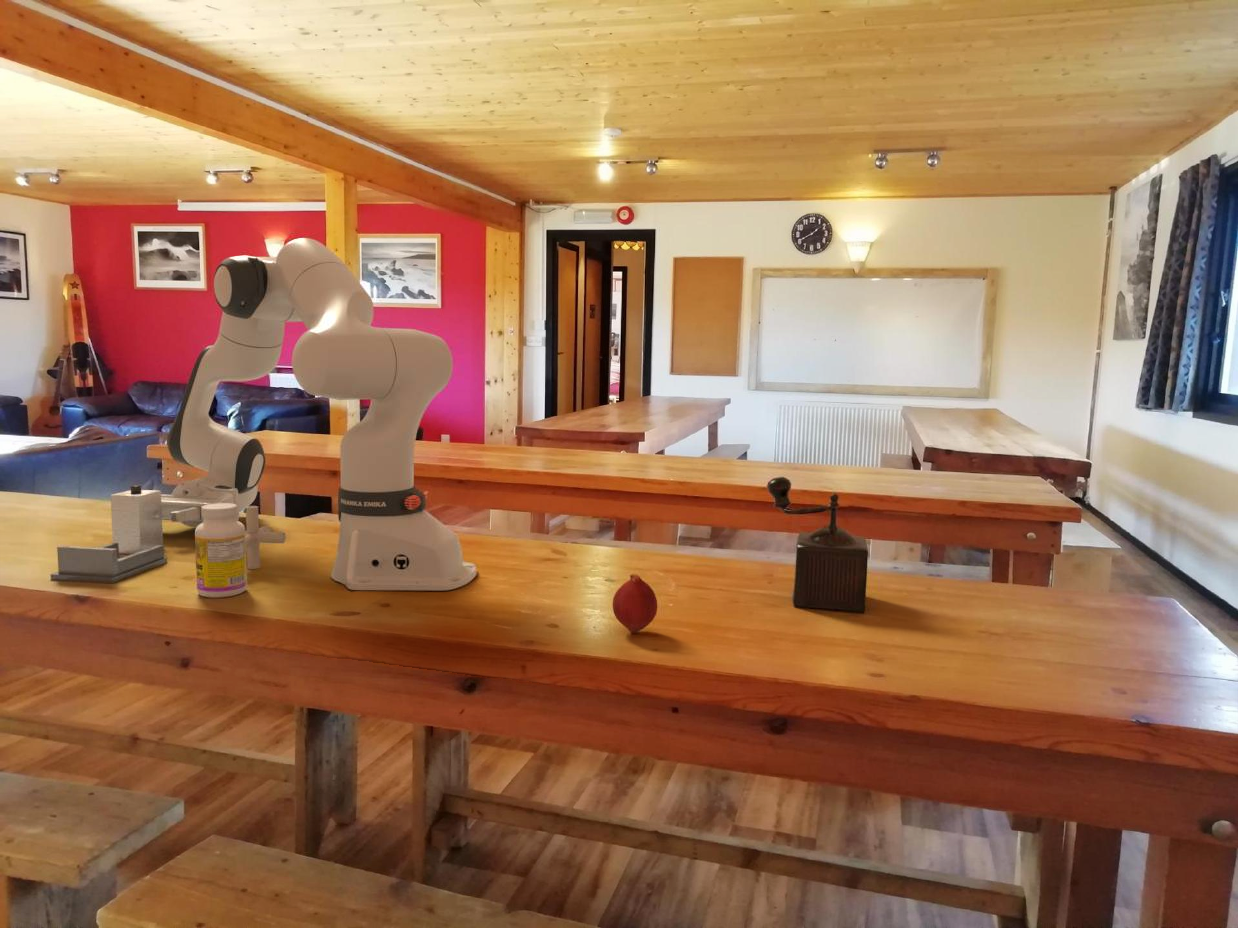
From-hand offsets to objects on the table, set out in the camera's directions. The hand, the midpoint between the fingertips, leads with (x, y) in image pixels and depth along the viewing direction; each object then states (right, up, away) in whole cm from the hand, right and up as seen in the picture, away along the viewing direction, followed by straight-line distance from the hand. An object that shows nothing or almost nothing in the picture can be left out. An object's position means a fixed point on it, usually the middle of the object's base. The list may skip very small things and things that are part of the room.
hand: (149, 516), depth 152 cm
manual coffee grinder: (+112, -12, -21) cm, 114 cm away
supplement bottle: (+25, -10, -26) cm, 37 cm away
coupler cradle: (+3, -8, -16) cm, 18 cm away
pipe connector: (+23, -8, -12) cm, 27 cm away
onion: (+85, -13, -39) cm, 94 cm away
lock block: (-1, -6, -2) cm, 6 cm away
